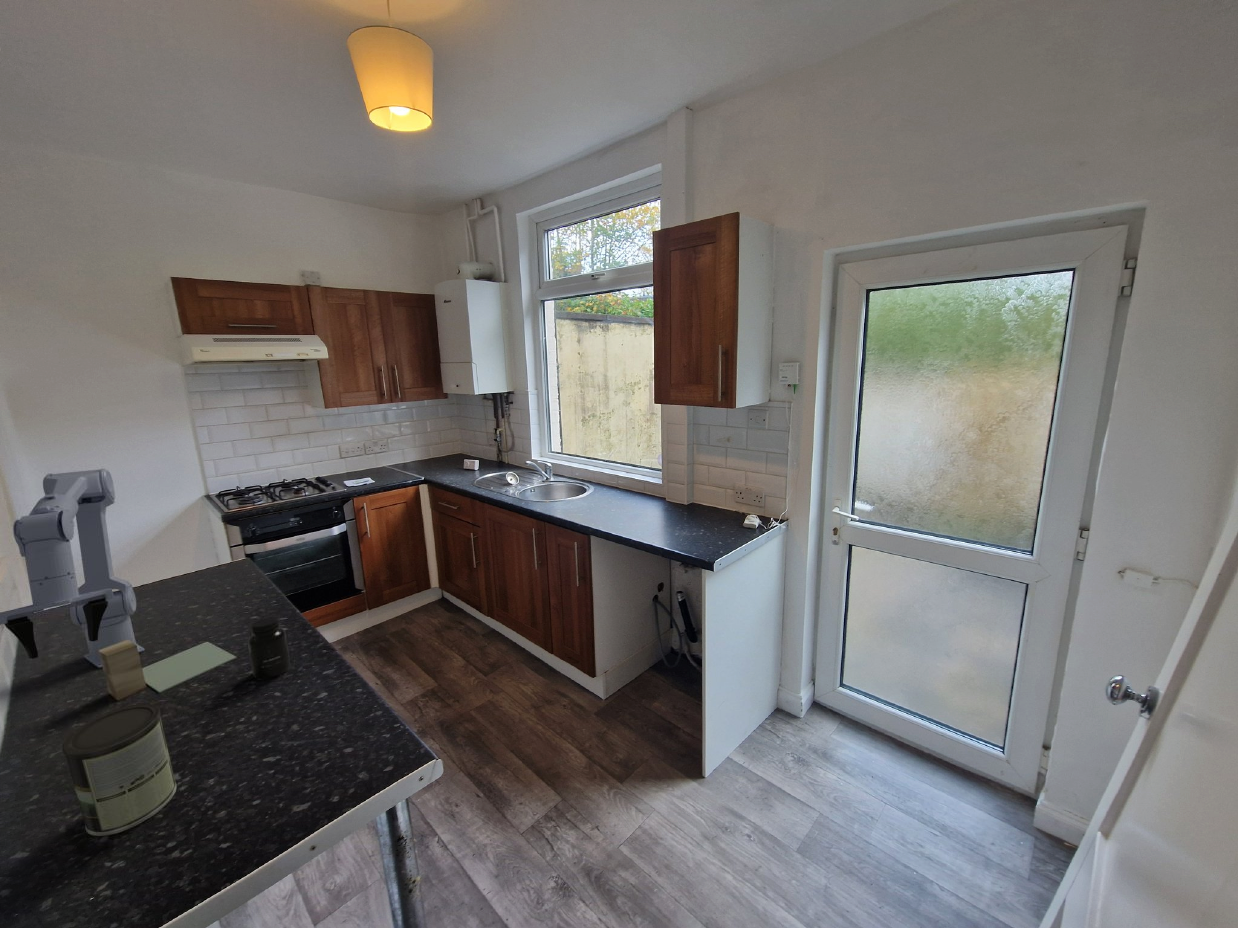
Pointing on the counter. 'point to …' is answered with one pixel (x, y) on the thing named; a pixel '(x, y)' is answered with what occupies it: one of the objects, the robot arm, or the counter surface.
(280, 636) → the supplement bottle
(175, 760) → the counter surface
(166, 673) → the mat
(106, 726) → the coffee can
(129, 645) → the maple block
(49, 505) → the robot arm
